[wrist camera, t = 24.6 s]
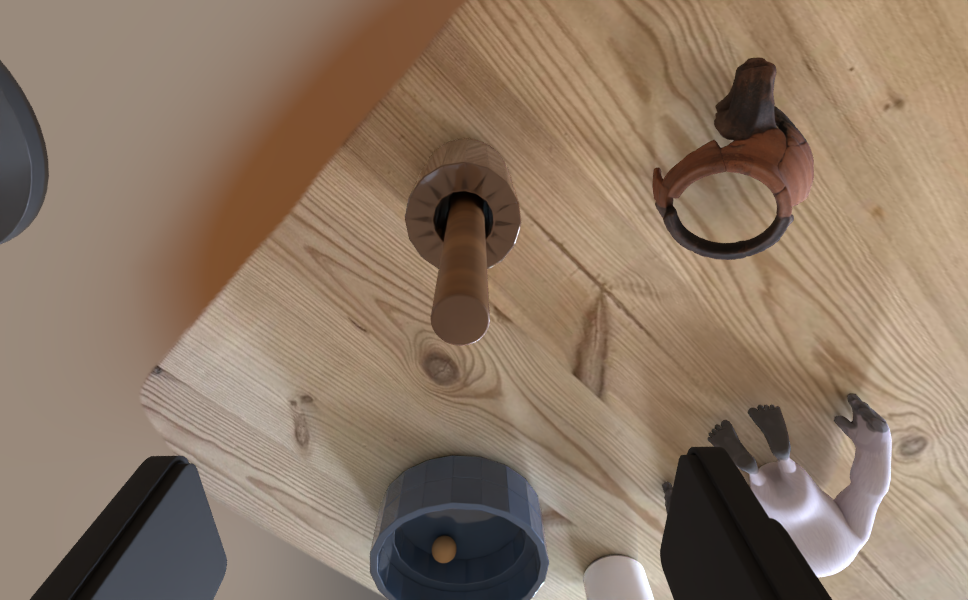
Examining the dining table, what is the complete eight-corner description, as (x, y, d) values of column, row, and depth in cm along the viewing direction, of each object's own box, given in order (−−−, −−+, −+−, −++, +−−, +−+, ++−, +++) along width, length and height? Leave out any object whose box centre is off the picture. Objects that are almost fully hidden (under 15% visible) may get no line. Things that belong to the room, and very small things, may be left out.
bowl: (349, 492, 48) (333, 547, 42) (489, 425, 45) (491, 476, 39) (437, 583, 54) (432, 642, 48) (566, 530, 51) (578, 587, 45)
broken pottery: (800, 199, 37) (804, 273, 32) (663, 202, 41) (647, 267, 36) (828, 22, 29) (841, 80, 24) (657, 47, 33) (636, 102, 28)
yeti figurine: (634, 434, 47) (695, 564, 55) (650, 490, 42) (716, 628, 49) (861, 363, 42) (894, 518, 50) (916, 415, 36) (944, 582, 44)
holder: (404, 168, 35) (383, 201, 27) (481, 120, 34) (483, 139, 26) (452, 241, 37) (445, 292, 29) (525, 199, 36) (540, 240, 28)
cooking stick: (448, 180, 35) (419, 311, 17) (472, 165, 34) (470, 283, 16) (463, 205, 36) (450, 356, 18) (487, 190, 35) (500, 329, 17)
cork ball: (453, 528, 49) (457, 553, 47) (454, 539, 51) (459, 564, 49) (428, 534, 49) (432, 559, 47) (431, 545, 50) (434, 570, 49)
